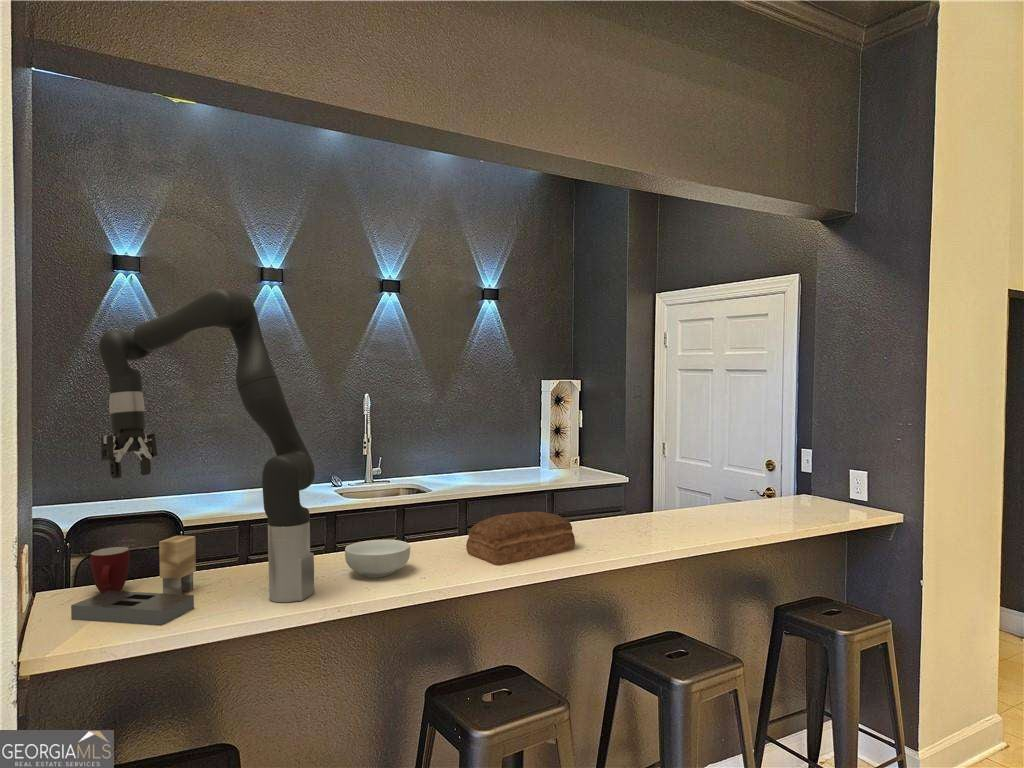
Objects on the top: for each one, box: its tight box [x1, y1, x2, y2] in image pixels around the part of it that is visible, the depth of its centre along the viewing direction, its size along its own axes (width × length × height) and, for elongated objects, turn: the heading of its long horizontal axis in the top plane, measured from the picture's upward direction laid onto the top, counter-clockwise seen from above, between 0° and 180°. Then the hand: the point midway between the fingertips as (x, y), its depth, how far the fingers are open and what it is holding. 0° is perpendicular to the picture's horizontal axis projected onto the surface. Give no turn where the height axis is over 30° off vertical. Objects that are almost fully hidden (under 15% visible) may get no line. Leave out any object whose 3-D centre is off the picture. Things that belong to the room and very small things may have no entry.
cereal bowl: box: [344, 539, 411, 578], centre depth 172 cm, size 17×17×7 cm
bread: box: [465, 511, 576, 566], centre depth 191 cm, size 17×29×11 cm, turn 125°
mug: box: [89, 546, 131, 594], centre depth 157 cm, size 10×8×10 cm
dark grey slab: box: [70, 590, 195, 626], centre depth 143 cm, size 22×10×3 cm, turn 79°
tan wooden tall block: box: [158, 535, 197, 595], centre depth 157 cm, size 5×6×13 cm
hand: (131, 476), depth 163 cm, fingers open, 8 cm apart
